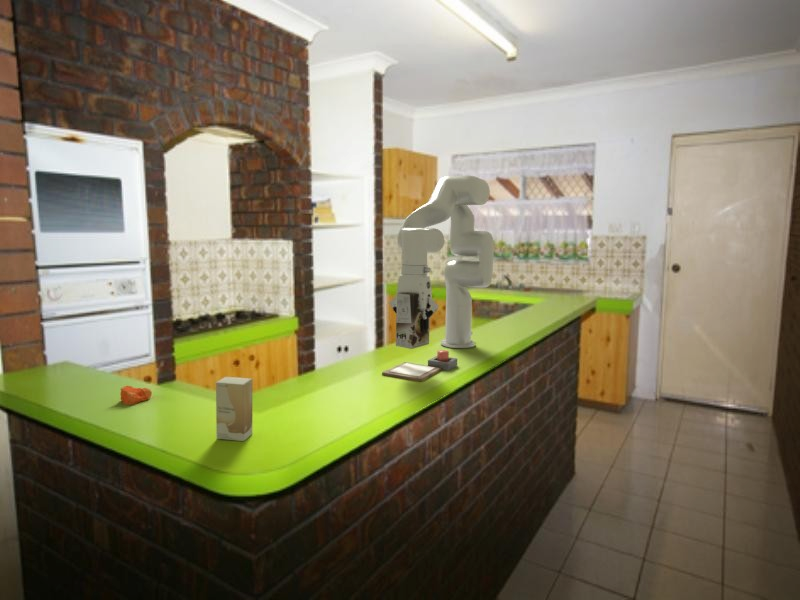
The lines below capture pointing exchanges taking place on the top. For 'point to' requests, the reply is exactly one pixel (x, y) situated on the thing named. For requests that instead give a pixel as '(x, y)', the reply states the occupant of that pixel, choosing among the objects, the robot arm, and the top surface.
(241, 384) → the skincare box
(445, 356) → the button
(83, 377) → the top surface
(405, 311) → the coffee box
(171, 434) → the top surface
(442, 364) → the button collar
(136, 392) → the rock
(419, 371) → the board
